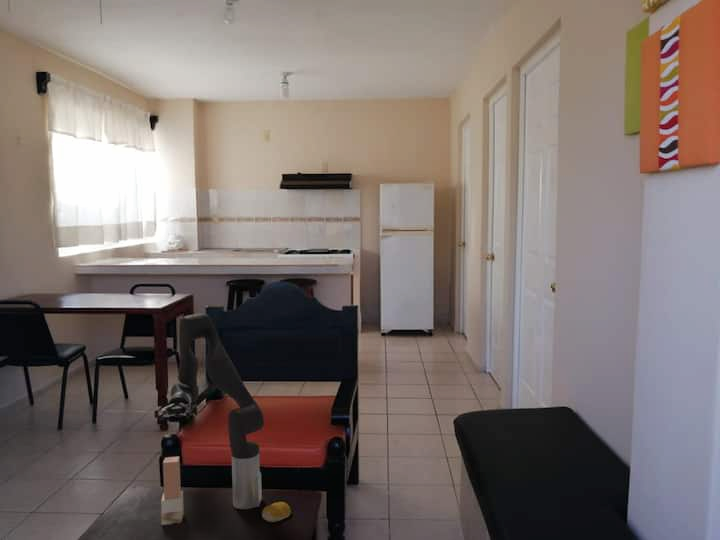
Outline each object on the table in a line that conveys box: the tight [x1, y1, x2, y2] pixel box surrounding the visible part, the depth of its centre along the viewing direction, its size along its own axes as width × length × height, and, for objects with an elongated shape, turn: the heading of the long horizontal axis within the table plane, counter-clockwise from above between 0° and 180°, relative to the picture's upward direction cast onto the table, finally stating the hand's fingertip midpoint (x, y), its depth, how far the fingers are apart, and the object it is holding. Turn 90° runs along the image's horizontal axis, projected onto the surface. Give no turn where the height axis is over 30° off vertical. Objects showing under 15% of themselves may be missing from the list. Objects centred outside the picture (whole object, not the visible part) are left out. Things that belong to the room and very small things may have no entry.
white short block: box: [160, 490, 184, 513], centre depth 182 cm, size 6×6×4 cm
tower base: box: [160, 505, 185, 526], centre depth 182 cm, size 6×6×4 cm
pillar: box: [162, 455, 182, 500], centre depth 181 cm, size 4×4×12 cm
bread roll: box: [261, 501, 292, 523], centre depth 184 cm, size 8×9×4 cm
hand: (173, 416), depth 191 cm, fingers open, 8 cm apart
